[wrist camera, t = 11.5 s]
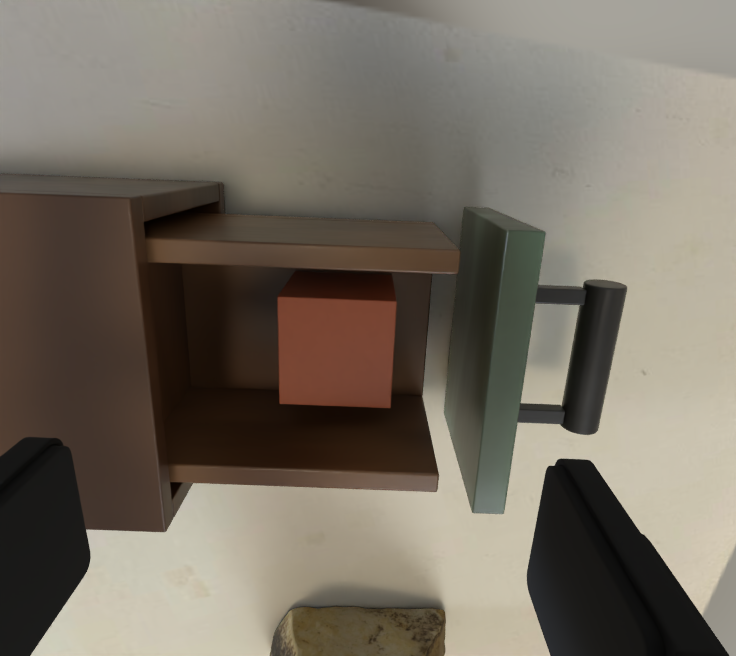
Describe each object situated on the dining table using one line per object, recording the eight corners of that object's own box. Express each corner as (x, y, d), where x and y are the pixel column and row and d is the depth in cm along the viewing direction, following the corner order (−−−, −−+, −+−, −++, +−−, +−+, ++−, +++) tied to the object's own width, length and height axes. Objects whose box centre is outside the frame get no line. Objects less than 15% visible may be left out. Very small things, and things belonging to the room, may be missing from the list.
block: (294, 271, 23) (276, 296, 18) (392, 274, 23) (397, 300, 19) (295, 361, 24) (279, 404, 20) (387, 365, 24) (390, 408, 20)
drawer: (584, 211, 23) (685, 236, 15) (549, 417, 26) (618, 519, 19) (167, 194, 23) (69, 212, 15) (185, 403, 26) (111, 500, 19)
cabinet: (223, 182, 23) (129, 197, 14) (235, 407, 27) (166, 533, 18) (-115, 168, 23) (-427, 175, 14) (-58, 396, 27) (-276, 517, 18)
